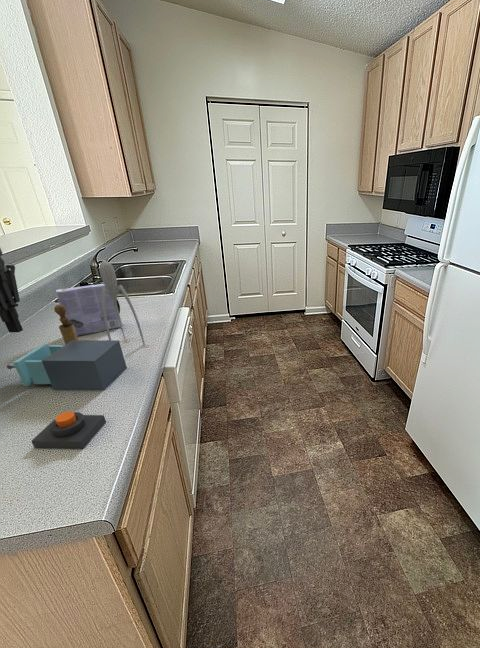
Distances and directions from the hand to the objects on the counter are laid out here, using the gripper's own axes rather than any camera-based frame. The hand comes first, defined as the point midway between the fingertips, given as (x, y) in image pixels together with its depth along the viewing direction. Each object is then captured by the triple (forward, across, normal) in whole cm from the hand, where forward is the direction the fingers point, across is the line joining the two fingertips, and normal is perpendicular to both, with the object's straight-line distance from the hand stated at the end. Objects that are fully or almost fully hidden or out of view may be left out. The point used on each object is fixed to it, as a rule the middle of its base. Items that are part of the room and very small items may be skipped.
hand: (16, 331), depth 90 cm
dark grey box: (+17, +2, -15) cm, 22 cm away
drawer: (+16, +2, -3) cm, 16 cm away
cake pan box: (+17, +37, +4) cm, 41 cm away
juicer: (+17, +24, -16) cm, 33 cm away
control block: (+17, -22, -24) cm, 37 cm away
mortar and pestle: (+17, +16, -1) cm, 23 cm away
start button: (+13, -22, -24) cm, 35 cm away
